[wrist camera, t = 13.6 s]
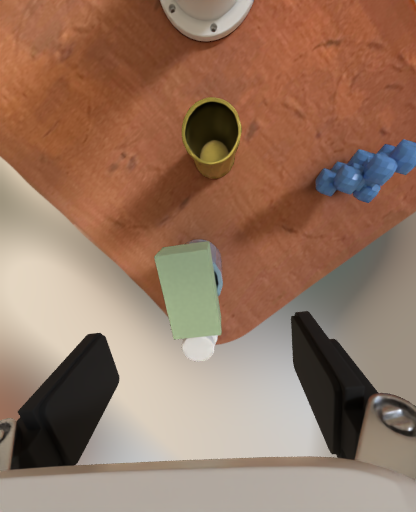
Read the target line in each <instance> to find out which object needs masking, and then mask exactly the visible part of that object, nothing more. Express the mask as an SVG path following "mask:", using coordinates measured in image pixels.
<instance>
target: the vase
mask: <svg viewBox="0 0 416 512" xmlns="http://www.w3.org/2000/svg"><path fill="white" fill-rule="evenodd" d="M241 132H242V128H241V123H240V120H239V116H238V114H237V112H236V110H235V109H234V107H233V106H232V105H231V104H229V103H228V102H227V101H225V100H223V99H219V98H213V97H209V98H205V99H202V100H200V101H198V102H196V103H195V104H194V105H193V106H192V107H191V108H190V109H189V110H188V112H187V114H186V116H185V118H184V120H183V124H182V140H183V143H184V146H185V148H186V150H187V152H188V153H189V154H190V156H191V157H192V158H193V159H194V162H195V165H196V167H197V169H198V171H199V172H200V173H201V174H202V175H204V176H206V177H208V178H213V179H215V178H220V177H223V176H224V175H226V174H227V173H228V172H229V171H230V170H231V168H232V166H233V164H234V160H235V153H236V151H237V148H238V146H239V143H240V137H241Z"/></svg>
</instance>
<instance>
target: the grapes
mask: <svg viewBox="0 0 416 512" xmlns="http://www.w3.org/2000/svg"><path fill="white" fill-rule="evenodd" d="M415 166H416V143H415V142H412V141H408V140H404V139H403V140H402V141H401V142H400V143H399V144H398V145H397V146H396V147H394V146H391V145H387V144H385V145H384V146H383V147H382V148H381V149H380V150H379V151H378V152H377V154H374V153H370V152H367V151H364V150H360V149H359V150H358V151H357V152H356V153H355V154H354V156H353V157H352V158H351V160H350V161H349V162H348V163H347V164H344V163H341V162H337V163H336V164H335V165H334V166H333V168H332V169H331V170H329V169H325V168H324V169H323V170H322V171H321V172H320V174H319V175H318V177H317V179H316V190H317V191H318V192H320V193H322V194H325V195H328V196H332V195H333V194H334V193H335V191H336V190H339V191H341V192H344V193H347V194H352V193H353V196H354V197H355V198H357V199H358V200H360V201H363V202H367V203H369V202H370V201H371V200H372V199H373V198H374V197H375V196H376V195H377V194H378V192H379V190H380V185H381V186H382V185H383V184H384V183H385V182H387V181H388V180H389V179H390V178H391V177H392V175H393V174H394V172H397V173H400V174H404V175H406V174H407V173H409V172H410V171H411V170H412V169H413V168H414V167H415Z"/></svg>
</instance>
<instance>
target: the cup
mask: <svg viewBox="0 0 416 512" xmlns="http://www.w3.org/2000/svg"><path fill="white" fill-rule="evenodd" d="M205 241H206V240H202V239H195V240H191V241H189V242H187V243H185V244H191V243H198V242H205ZM209 243H210V242H209ZM210 249H211V256H212V262H213V268H214V275H215V281H216V288H217V294H218V296H219V295H220V292H221V289H222V285H223V276H222V260H221V255H220V252H219V250H218V249H217V248H216V247H215V245H213V244H212V243H210Z"/></svg>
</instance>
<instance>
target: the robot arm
mask: <svg viewBox="0 0 416 512" xmlns="http://www.w3.org/2000/svg"><path fill="white" fill-rule="evenodd" d="M160 2H161V5H162V8H163V10H164V12H165V14H166V16H167V17H168V19H169V20H170V21H171V23H172V24H173V26H174V27H175V28H177V29H178V30H179V31H180V32H181V33H182V34H184V35H186V36H187V37H189V38H192V39H195V40H198V41H213V40H218V39H220V38H223V37H225V36H227V35H228V34H230V33H231V32H233V31H234V30H235V29H236V28H237V27H238V26H239V25H240V24H241V23H242V22H243V20H244V19H245V17H246V16H247V14H248V13H249V11H250V8H251V6H252V4H253V2H254V0H160ZM173 12H174V13H173ZM212 31H215V32H212ZM291 325H292V348H293V364H294V368H295V371H296V373H297V376H298V378H299V380H300V383H301V385H302V387H303V390H304V392H305V394H306V397H307V399H308V401H309V404H310V406H311V409H312V411H313V413H314V415H315V418H316V420H317V423H318V425H319V427H320V430H321V432H322V434H323V436H324V439H325V441H326V444H327V446H328V448H329V450H330V452H331V453H332V454H336V455H337V457H338V458H334V457H333V458H332V457H259V458H233V459H208V460H207V459H206V460H182V461H159V462H140V463H138V462H137V463H115V464H95V465H78V466H77V465H76V464H77V463H78V461H79V459H80V457H81V455H82V453H83V451H84V450H85V448H86V446H87V444H88V442H89V439H90V438H91V436H92V434H93V432H94V430H95V428H96V426H97V424H98V422H99V420H100V418H101V417H102V415H103V413H104V411H105V409H106V407H107V405H108V403H109V401H110V399H111V397H112V395H113V393H114V391H115V390H116V388H117V386H118V383H119V375H118V371H117V369H116V366H115V363H114V360H113V357H112V354H111V352H110V349H109V346H108V343H107V340H106V337H105V336H103V335H102V334H101V333H95V334H88V335H87V336H86V337H85V338H84V339H83V340H82V341H81V342H80V344H78V346H77V347H76V348H75V349H74V350H73V351H72V352H71V353H70V354H69V356H68V357H67V358H66V359H65V360H64V361H63V362H62V363H61V364H60V366H59V367H58V368H57V369H56V370H55V371H54V372H53V373H52V374H51V375H50V376H49V378H48V379H47V380H46V381H45V382H44V383H43V384H42V385H41V386H40V388H39V389H38V390H37V391H36V392H35V393H34V394H33V395H32V396H31V398H29V400H28V401H27V402H26V403H25V404H24V405H23V406H22V407H21V408H20V410H19V411H18V413H19V415H20V418H19V419H18V420H17V421H15V420H14V419H12V418H11V419H10V418H8V419H4V420H1V421H0V512H416V406H415V405H413V404H412V403H410V402H409V401H407V400H405V399H403V398H401V397H398V396H395V395H392V394H387V393H378V392H377V391H376V389H375V388H374V387H373V386H372V384H371V383H370V382H369V380H368V379H367V378H366V377H365V375H364V374H363V373H362V372H361V370H360V369H359V368H358V367H357V366H356V364H355V363H354V361H353V360H352V359H351V358H350V356H349V355H348V354H347V353H346V351H345V350H344V349H343V348H342V346H341V345H340V344H339V343H338V342H337V341H336V340H335V339H329V338H328V337H327V336H326V334H325V333H324V332H323V330H322V329H321V328H320V326H319V325H318V323H317V322H316V321H315V319H314V318H313V317H312V315H311V314H310V313H309V312H308V311H305V312H296V313H295V316H292V317H291ZM74 465H76V466H74Z"/></svg>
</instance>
